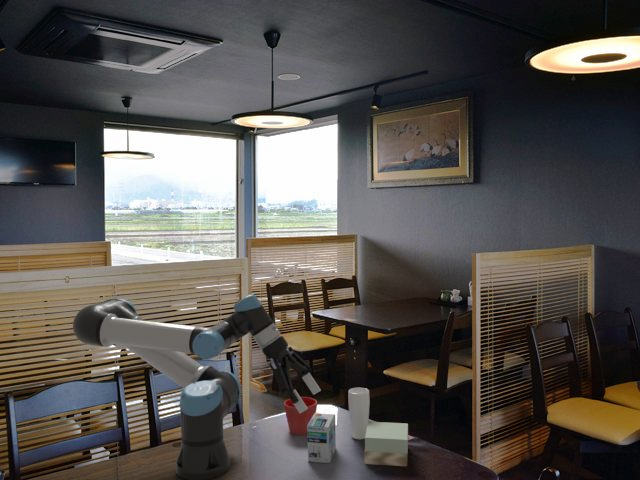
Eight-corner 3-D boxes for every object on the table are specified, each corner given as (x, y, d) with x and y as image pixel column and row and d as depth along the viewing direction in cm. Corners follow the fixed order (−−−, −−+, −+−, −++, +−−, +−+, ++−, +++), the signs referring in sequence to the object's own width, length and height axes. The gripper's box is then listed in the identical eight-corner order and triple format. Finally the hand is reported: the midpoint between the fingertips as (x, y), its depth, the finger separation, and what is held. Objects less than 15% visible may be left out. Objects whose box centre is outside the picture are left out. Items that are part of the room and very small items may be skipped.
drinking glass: (373, 435, 177) (373, 389, 176) (363, 442, 171) (363, 395, 170) (355, 431, 180) (354, 386, 180) (345, 438, 175) (344, 392, 174)
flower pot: (288, 423, 188) (287, 396, 187) (319, 425, 186) (319, 396, 186) (281, 436, 177) (280, 407, 177) (315, 437, 176) (314, 408, 175)
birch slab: (364, 465, 157) (364, 451, 157) (368, 447, 169) (368, 434, 168) (407, 467, 155) (406, 454, 155) (407, 449, 167) (407, 436, 166)
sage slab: (365, 451, 157) (364, 437, 157) (368, 434, 169) (368, 421, 168) (407, 453, 155) (407, 439, 155) (408, 436, 167) (407, 423, 166)
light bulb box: (330, 464, 157) (329, 427, 157) (307, 462, 158) (306, 425, 158) (336, 448, 168) (335, 413, 167) (314, 446, 169) (314, 412, 168)
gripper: (265, 348, 151) (308, 413, 150) (294, 324, 175) (331, 380, 174) (245, 361, 154) (287, 425, 152) (276, 335, 177) (313, 391, 176)
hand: (310, 401), depth 163 cm, fingers open, 13 cm apart
